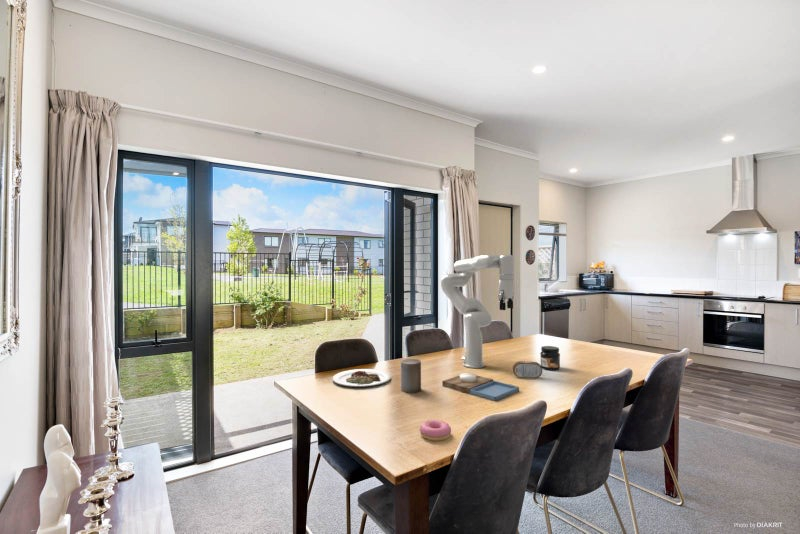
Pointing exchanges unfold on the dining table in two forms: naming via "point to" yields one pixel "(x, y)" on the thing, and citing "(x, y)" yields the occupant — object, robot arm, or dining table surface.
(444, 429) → the doughnut
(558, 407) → the dining table surface
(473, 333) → the robot arm
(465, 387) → the wooden cutting board
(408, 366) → the pillar candle
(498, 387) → the tray
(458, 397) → the dining table surface
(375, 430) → the dining table surface
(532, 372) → the tin
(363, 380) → the plated food
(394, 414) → the dining table surface
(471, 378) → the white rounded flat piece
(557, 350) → the supplement container
